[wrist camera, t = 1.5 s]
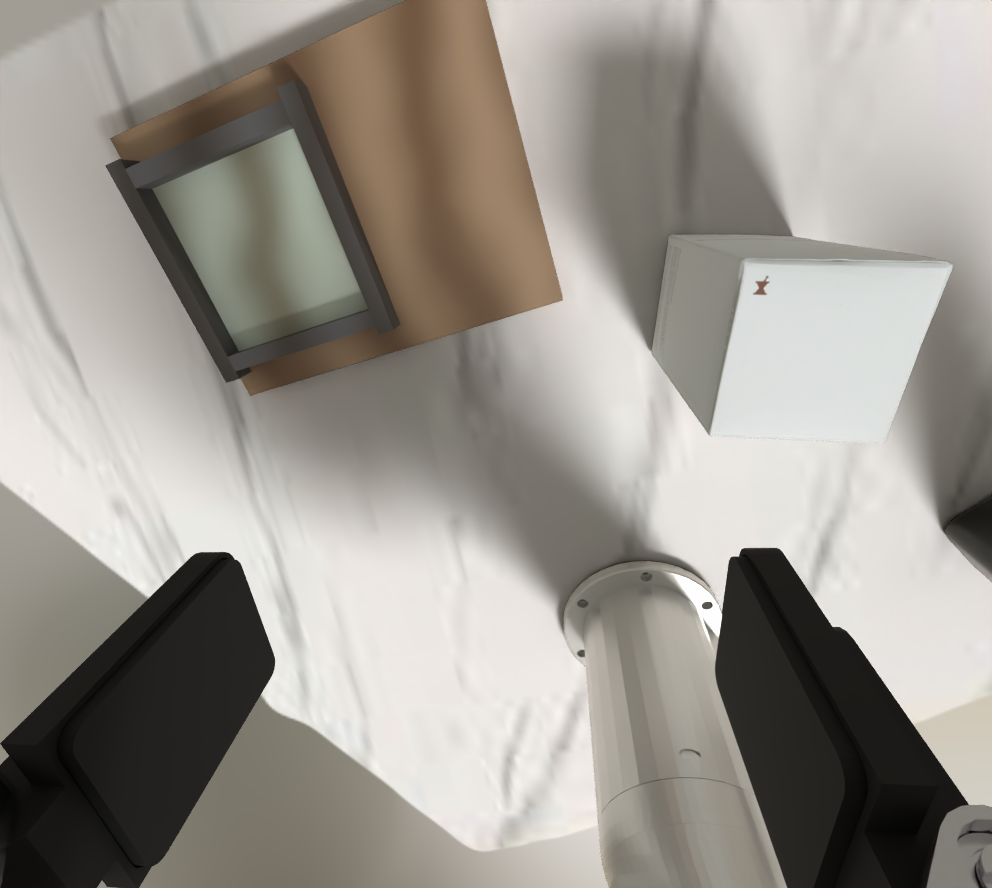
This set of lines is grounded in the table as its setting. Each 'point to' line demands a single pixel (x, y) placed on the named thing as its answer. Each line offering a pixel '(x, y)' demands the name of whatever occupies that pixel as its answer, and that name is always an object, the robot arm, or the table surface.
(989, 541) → the wine bottle
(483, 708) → the table surface
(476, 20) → the board
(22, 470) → the table surface
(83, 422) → the table surface
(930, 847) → the robot arm
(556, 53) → the table surface
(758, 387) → the supplement box
